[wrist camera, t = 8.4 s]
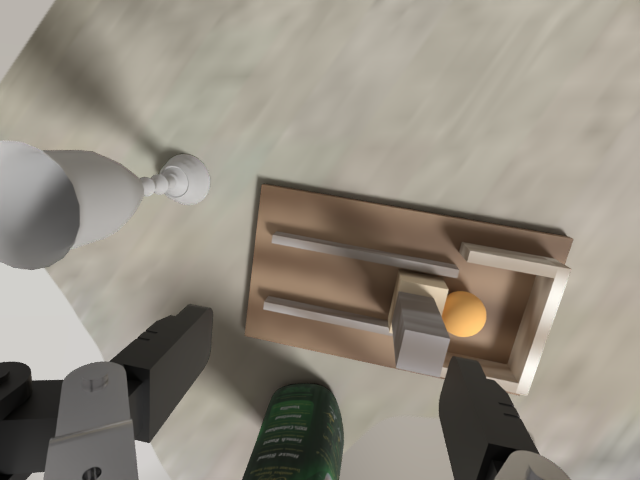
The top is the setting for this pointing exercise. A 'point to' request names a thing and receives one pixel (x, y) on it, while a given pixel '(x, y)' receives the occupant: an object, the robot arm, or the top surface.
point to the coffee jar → (299, 436)
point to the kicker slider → (419, 323)
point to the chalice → (77, 199)
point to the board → (381, 273)
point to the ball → (463, 314)
